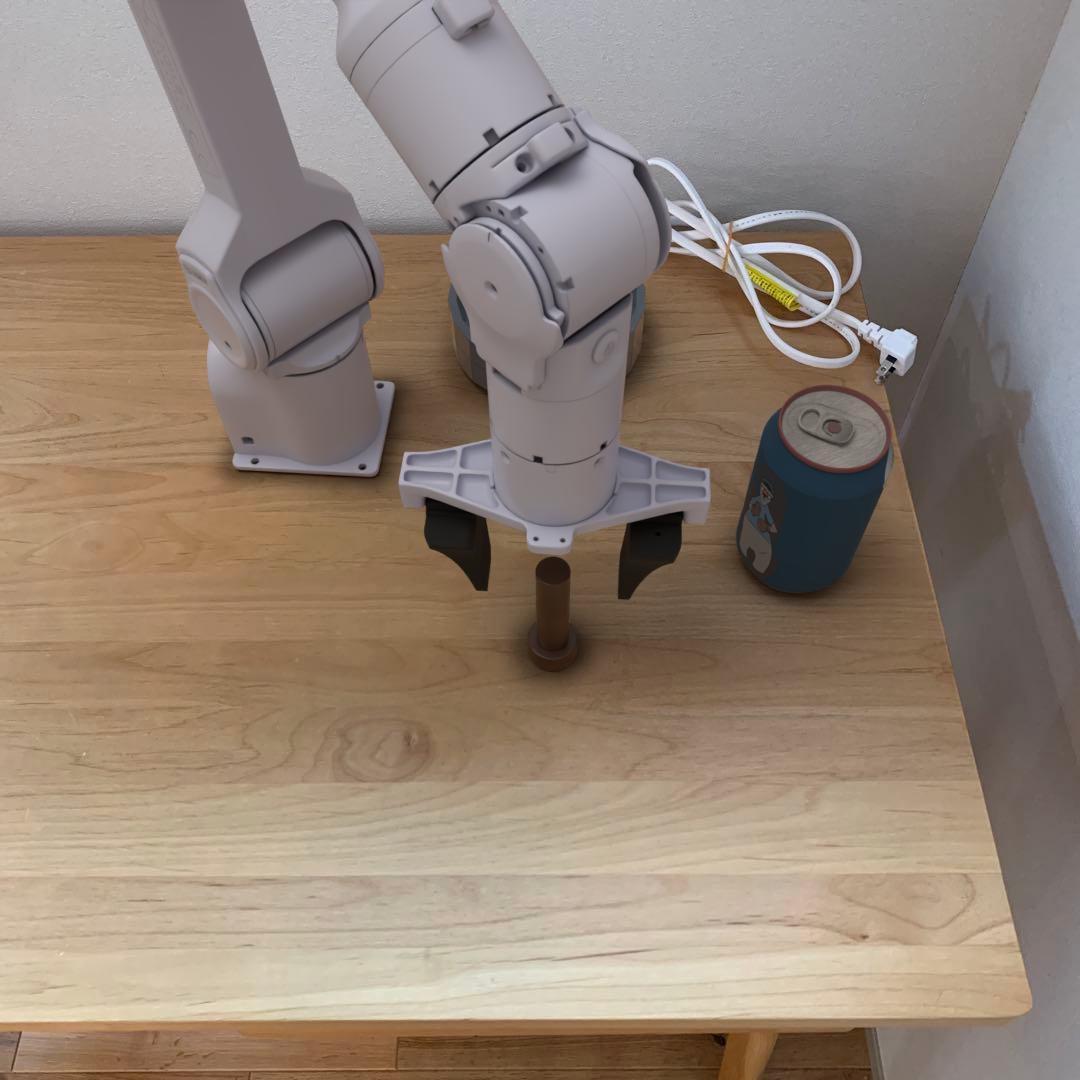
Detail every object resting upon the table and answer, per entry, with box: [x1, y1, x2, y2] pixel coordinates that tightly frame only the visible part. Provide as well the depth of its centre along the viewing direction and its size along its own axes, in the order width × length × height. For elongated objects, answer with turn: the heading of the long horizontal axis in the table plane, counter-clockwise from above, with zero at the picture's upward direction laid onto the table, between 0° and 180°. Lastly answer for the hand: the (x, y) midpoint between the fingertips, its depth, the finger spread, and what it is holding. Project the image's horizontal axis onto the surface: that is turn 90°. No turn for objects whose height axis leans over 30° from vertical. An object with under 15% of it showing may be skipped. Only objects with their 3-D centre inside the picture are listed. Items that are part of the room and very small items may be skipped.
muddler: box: [527, 555, 579, 672], centre depth 55 cm, size 3×3×8 cm
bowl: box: [447, 281, 646, 392], centre depth 71 cm, size 13×13×4 cm
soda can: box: [735, 384, 895, 594], centre depth 57 cm, size 7×7×12 cm
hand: (553, 579), depth 56 cm, fingers open, 7 cm apart
